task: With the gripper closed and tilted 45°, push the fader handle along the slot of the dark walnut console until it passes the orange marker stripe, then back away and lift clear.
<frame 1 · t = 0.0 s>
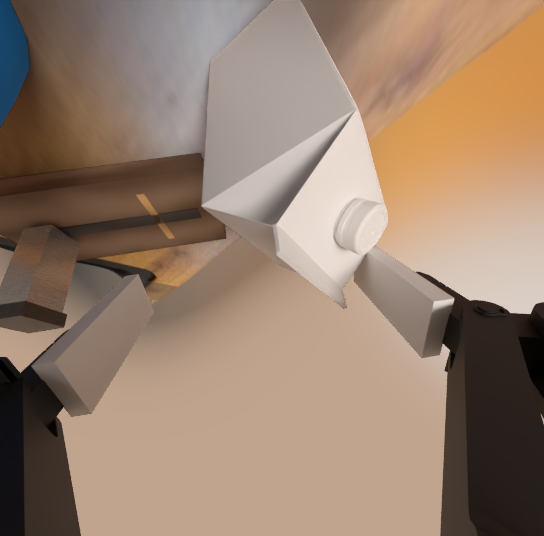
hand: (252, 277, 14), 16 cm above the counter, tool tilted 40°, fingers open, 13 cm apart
fader handle: (40, 276, 25), point 8 cm above the counter, slide at -7.0 cm
milk carton: (272, 74, 19), on the counter, touching gripper
console: (118, 208, 29), on the counter
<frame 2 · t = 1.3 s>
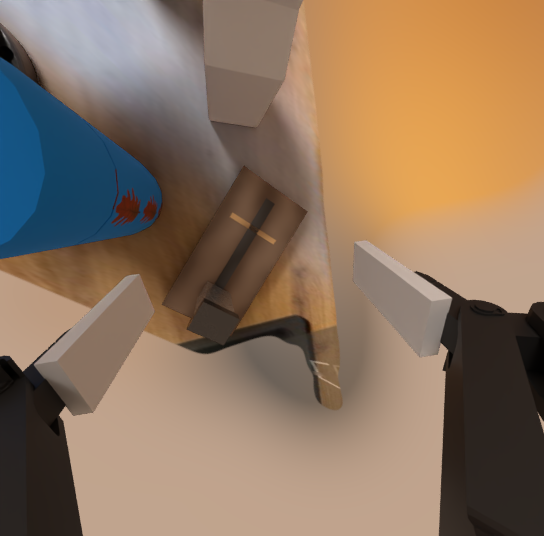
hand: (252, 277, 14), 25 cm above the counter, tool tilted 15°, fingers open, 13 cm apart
fader handle: (214, 307, 31), point 8 cm above the counter, slide at -7.0 cm
milk carton: (234, 97, 34), on the counter
thermos: (123, 197, 33), on the counter
console: (235, 254, 39), on the counter
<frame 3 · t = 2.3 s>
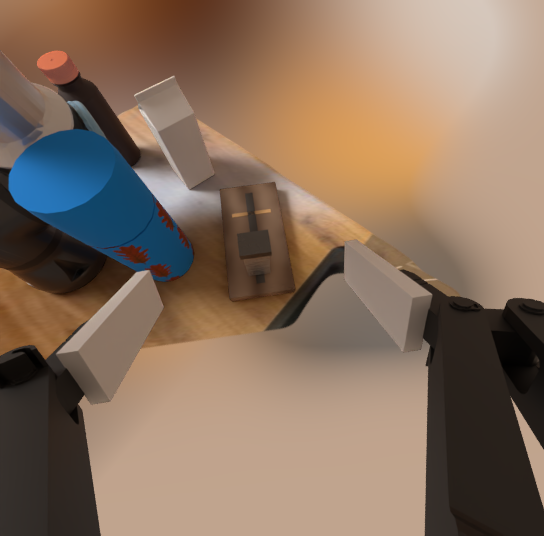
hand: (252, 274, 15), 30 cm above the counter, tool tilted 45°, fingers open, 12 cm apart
fader handle: (256, 256, 38), point 8 cm above the counter, slide at -7.0 cm
milk carton: (194, 173, 55), on the counter
bottle: (127, 157, 56), on the counter
thermos: (168, 257, 47), on the counter
console: (255, 240, 48), on the counter
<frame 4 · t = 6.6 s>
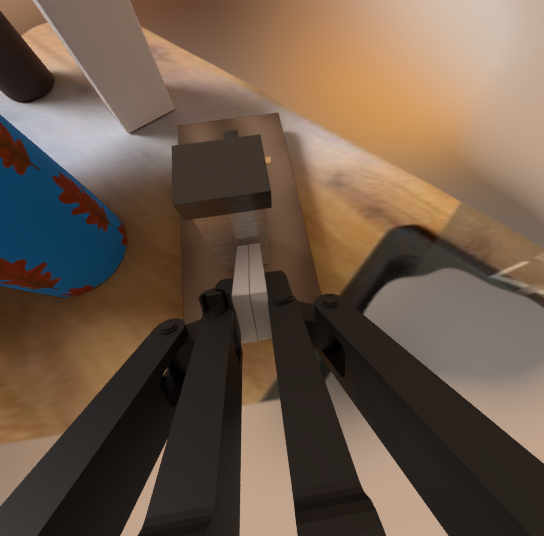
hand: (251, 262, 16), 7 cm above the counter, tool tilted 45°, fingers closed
fader handle: (236, 222, 16), point 8 cm above the counter, slide at -5.6 cm, touching gripper
milk carton: (141, 109, 32), on the counter
bottle: (33, 88, 34), on the counter
thermos: (79, 250, 25), on the counter
console: (243, 217, 26), on the counter
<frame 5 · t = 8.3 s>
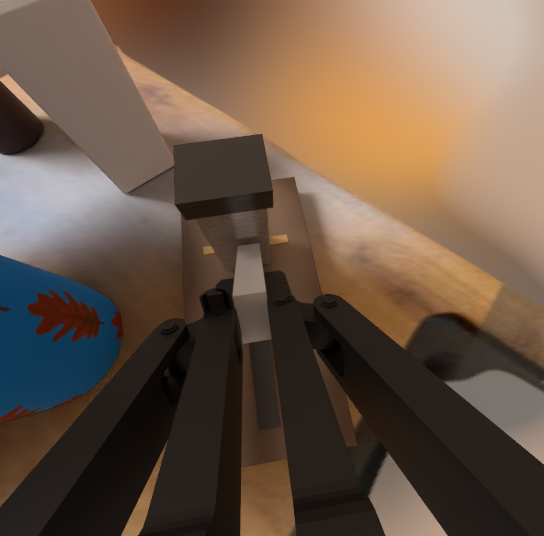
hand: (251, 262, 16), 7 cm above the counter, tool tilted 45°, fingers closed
fader handle: (237, 222, 16), point 8 cm above the counter, slide at 4.1 cm, touching gripper
milk carton: (139, 163, 29), on the counter
bottle: (19, 136, 31), on the counter
thermos: (67, 342, 22), on the counter
console: (255, 301, 23), on the counter
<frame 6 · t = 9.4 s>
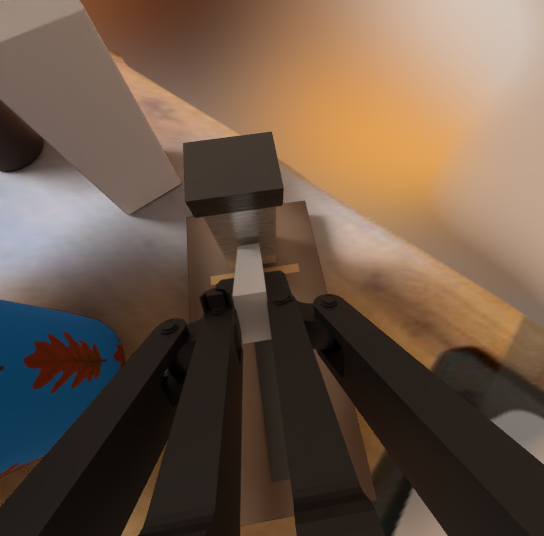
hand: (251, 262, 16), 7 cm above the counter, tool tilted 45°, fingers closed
fader handle: (244, 220, 16), point 8 cm above the counter, slide at 7.1 cm, touching gripper
milk carton: (142, 181, 28), on the counter
bottle: (18, 152, 30), on the counter
thermos: (67, 376, 21), on the counter
console: (264, 332, 22), on the counter
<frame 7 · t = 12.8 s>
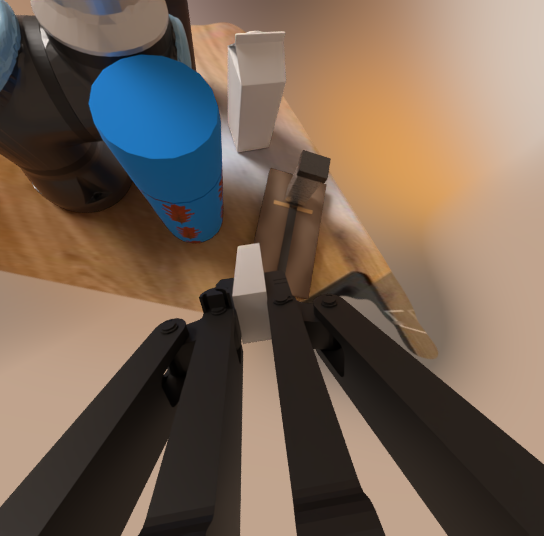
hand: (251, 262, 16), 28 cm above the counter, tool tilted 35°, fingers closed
fader handle: (304, 182, 41), point 8 cm above the counter, slide at 7.2 cm
milk carton: (248, 136, 50), on the counter
bottle: (181, 84, 49), on the counter
thermos: (195, 217, 45), on the counter
console: (285, 234, 47), on the counter
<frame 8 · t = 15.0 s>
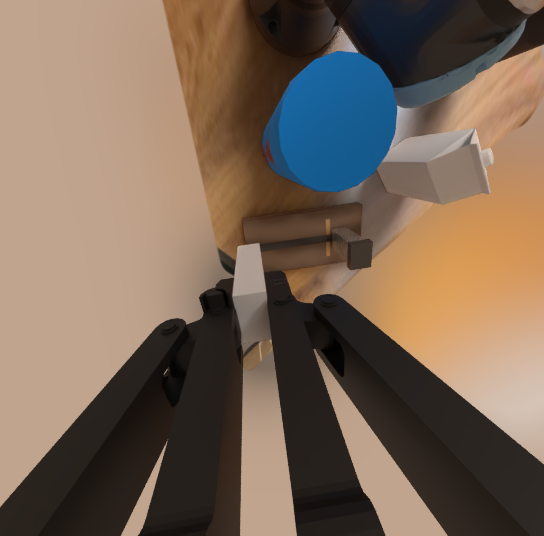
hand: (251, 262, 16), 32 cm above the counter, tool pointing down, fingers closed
fader handle: (348, 245, 43), point 8 cm above the counter, slide at 7.2 cm
milk carton: (395, 166, 46), on the counter
bottle: (446, 58, 40), on the counter
thermos: (290, 145, 43), on the counter
console: (301, 237, 50), on the counter
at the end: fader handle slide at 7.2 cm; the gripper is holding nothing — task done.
